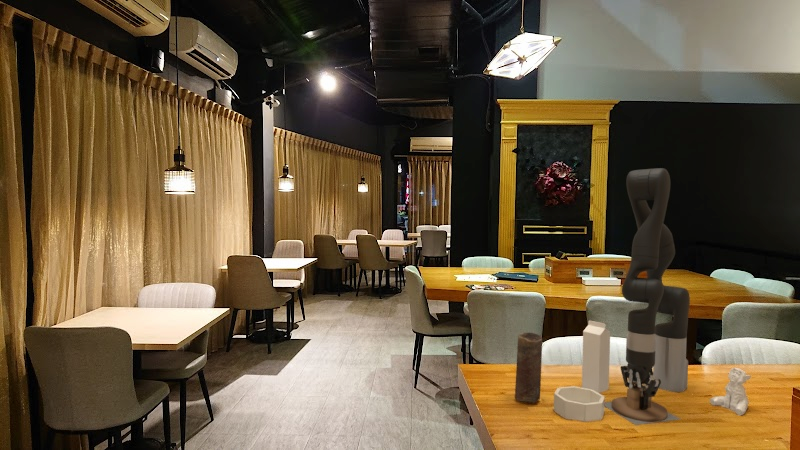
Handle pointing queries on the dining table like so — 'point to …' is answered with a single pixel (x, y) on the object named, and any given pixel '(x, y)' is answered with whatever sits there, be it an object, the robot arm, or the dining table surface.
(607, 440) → the dining table surface
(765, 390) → the dining table surface
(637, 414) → the lid
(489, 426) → the dining table surface
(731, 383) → the sitting furry creature
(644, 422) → the mat
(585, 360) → the milk
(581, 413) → the bowl
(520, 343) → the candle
